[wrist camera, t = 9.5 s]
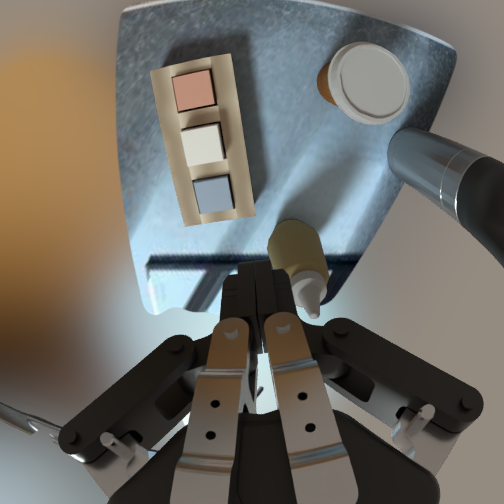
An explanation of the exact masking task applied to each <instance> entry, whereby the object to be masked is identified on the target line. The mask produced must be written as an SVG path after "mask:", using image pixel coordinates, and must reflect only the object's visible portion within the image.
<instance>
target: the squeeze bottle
mask: <svg viewBox="0 0 504 504" xmlns="http://www.w3.org/2000/svg"><path fill="white" fill-rule="evenodd" d="M267 251H268V254H269V257H270V260H271V263H272V266H273V269H274V270H275V269H282V268H283V269H284V270H285V271H286V272H287V273H288V274H289V278H290V282H291V287H292V291H293V296H294V301H295V305H297V306H299V307H304V309H305V310H306V312H307V313H308V315H309V317H310V318H311V319H316V318H318V317H319V315H320V302H321V301H322V300H323V299H324V297H325V296H326V293H327V287H326V285H327V283H328V280H329V273H328V268H327V264H326V260H325V256H324V252H323V249H322V245H321V241H320V238H319V235H318V234H317V233H316V231H315V230H314V228H312V227H310V226H308V225H306V224H304V223H302V222H301V221H299V220H293V219H289V220H285V221H283V222H281V223H280V224H278V225H277V226H276V228H275V229H274V231H273V233H272V235H271V236H270V238H269V241H268V247H267Z"/></svg>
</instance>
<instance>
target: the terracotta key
mask: <svg viewBox="0 0 504 504" xmlns="http://www.w3.org/2000/svg"><path fill="white" fill-rule="evenodd" d="M173 84H174V90H175V95H176V100H177V106H178V111H182V110H186V109H191V108H196V107H201V106H206V105H211V104H216V103H217V101H216V95H215V89H214V83H213V77H212V72H211V71H209V70H206V71H201V72H196V73H192V74H187V75H183V76H179V77H175V78H173Z"/></svg>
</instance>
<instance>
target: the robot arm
mask: <svg viewBox="0 0 504 504" xmlns="http://www.w3.org/2000/svg"><path fill="white" fill-rule="evenodd" d="M388 163H389V167H390V169H391V171H392V172H393V173H394V175H395V176H396V177H398V178H399V179H400V180H402V181H403V182H405V183H406V184H408V185H409V186H411V187H412V188H413V189H415V190H416V191H418V192H419V193H420V194H422V195H423V196H425V197H426V198H427V199H428V200H430V201H431V202H433V203H434V204H435V205H436V206H438V207H439V208H440V209H442V210H443V211H444V212H445V213H447V214H448V215H449V216H451V217H452V218H453V219H454V220H456V221H457V222H458V223H459V224H460V225H461V226H463V227H464V228H465V229H466V230H467V231H468V232H470V233H471V234H472V235H473V236H474V237H475V238H476V239H477V240H478V241H479V242H480V243H481V244H482V245H483V246H484V247H485V248H486V249H487V250H488V251H489V252H490V253H491V254H492V255H493V256H494V257H495V258H496V259H497V261H498V262H499V263H500V264H501V265H502V266H503V268H504V163H502V162H500V161H498V160H496V159H494V158H492V157H490V156H488V155H485V154H483V153H481V152H479V151H476V150H474V149H472V148H469V147H467V146H465V145H462V144H460V143H457V142H455V141H452V140H449V139H446V138H444V137H441V136H439V135H436V134H433V133H430V132H427V131H424V130H421V129H418V128H415V127H407V128H404V129H401V130H400V131H398V132H397V133H396V134H395V135H394V137H393V138H392V140H391V142H390V144H389V148H388ZM262 342H263V348H264V353H268V356H269V363H270V369H271V375H272V381H273V386H274V391H275V397H276V403H277V408H278V410H275V411H272V412H269V413H265V414H257V413H256V396H257V375H258V368H257V365H258V358H257V354H262V353H263V351H262V350H263V349H262ZM324 383H326V384H327V385H329V386H330V387H331V388H333V389H334V390H335V391H337V392H339V393H340V394H341V395H343V396H344V397H346V398H347V399H348V400H350V401H352V402H353V403H354V404H356V405H357V406H359V407H360V408H362V409H363V410H365V411H366V412H368V413H369V414H371V415H373V416H374V417H375V418H377V419H379V420H380V421H382V422H383V423H385V424H387V425H388V426H390V427H391V428H393V429H392V440H393V442H394V443H395V445H396V446H398V448H400V450H401V451H402V453H401V452H400V451H398V450H397V449H395V448H394V447H393V446H391V445H390V444H388V443H387V442H385V441H384V440H383V439H381V438H380V437H378V436H377V435H375V434H374V433H373V432H371V431H370V430H369V429H367V428H366V427H364V426H363V425H362V424H360V423H359V422H358V421H356V420H355V419H354V418H352V417H351V416H349V415H347V414H345V413H343V412H340V411H338V410H334V409H332V408H331V404H330V401H329V397H328V394H327V391H326V388H325V385H324ZM483 405H484V404H483V398H482V396H481V394H480V393H479V391H478V390H476V389H475V388H473V387H471V386H469V385H468V384H466V383H464V382H462V381H460V380H458V379H457V378H455V377H453V376H451V375H449V374H448V373H446V372H444V371H442V370H440V369H438V368H437V367H435V366H433V365H431V364H429V363H427V362H426V361H424V360H422V359H420V358H418V357H417V356H415V355H413V354H411V353H409V352H408V351H406V350H404V349H402V348H400V347H399V346H397V345H395V344H393V343H391V342H390V341H388V340H386V339H384V338H382V337H380V336H379V335H377V334H375V333H374V332H371V331H370V330H368V329H366V328H365V327H363V326H361V325H359V324H357V323H356V322H354V321H352V320H350V319H347V318H334V319H331V320H330V321H328V322H327V323H326V324H325V325H324V326H316V325H311V324H308V323H306V322H304V321H302V320H301V319H300V318H299V316H298V314H297V311H296V305H295V301H294V296H293V291H292V287H291V282H290V278H289V274H288V273H287V272H286V271H285V270H284V269H283V268H282V269H275V270H272V268H271V261H270V259H268V260H260V261H255V266H254V261H252V262H244V263H238V274H234V275H228V276H227V277H226V279H225V280H224V282H223V288H222V299H221V310H220V322H219V323H218V324H217V325H216V326H215V327H214V330H213V333H212V334H210V335H208V336H206V337H204V338H201V339H198V340H195V341H193V340H192V339H191V338H190V337H188V336H186V335H175V336H172V337H170V338H168V339H166V340H165V341H164V342H163V343H162V344H160V345H159V346H158V347H157V348H156V349H155V350H153V351H152V352H151V353H150V354H149V355H148V356H146V357H145V358H144V359H143V360H142V361H141V362H140V363H138V364H137V365H136V366H135V367H133V368H132V369H131V370H130V371H129V372H128V373H126V374H125V375H124V376H123V377H122V378H120V379H119V380H118V381H117V382H116V383H115V384H114V385H112V386H111V387H110V388H109V389H108V390H106V391H105V392H104V393H103V394H102V395H100V396H99V397H98V398H97V399H96V400H94V401H93V402H92V403H91V404H90V405H88V406H87V407H86V408H85V409H84V410H82V411H81V412H80V413H79V414H78V415H77V416H75V417H74V418H73V419H72V420H70V421H69V422H68V423H67V424H66V425H64V427H62V429H61V430H60V433H59V436H58V442H59V446H60V448H61V449H62V450H63V451H64V452H65V453H67V454H68V455H70V456H71V457H73V458H75V459H76V460H77V461H78V462H80V463H82V464H83V465H84V466H85V468H86V469H87V470H88V472H89V473H90V475H91V476H92V477H93V479H94V480H95V481H96V483H97V484H98V485H99V486H100V488H101V489H102V490H103V491H104V493H105V494H106V495H107V496H108V498H109V501H108V503H107V504H439V501H440V488H439V484H438V481H437V479H436V478H435V476H436V474H437V472H438V471H439V469H440V468H441V466H442V465H443V463H444V461H445V460H446V458H447V457H448V455H449V453H450V451H451V450H452V448H453V446H454V444H455V443H456V441H457V439H458V437H459V435H460V434H461V433H462V432H463V431H464V430H465V429H466V428H467V427H468V426H470V425H471V424H472V423H473V422H474V421H475V420H476V419H477V418H478V417H479V416H480V414H481V412H482V410H483ZM190 411H191V412H190ZM189 412H190V417H189V422H188V425H186V426H184V427H183V428H182V429H180V430H179V431H178V432H177V433H176V434H175V435H174V436H173V437H172V438H171V439H170V440H169V441H168V442H167V443H166V444H165V445H164V446H163V447H162V448H161V449H160V450H159V451H158V452H157V453H156V454H155V455H154V456H153V457H152V458H151V459H150V460H149V461H148V459H149V455H148V451H149V450H150V449H151V448H152V447H153V446H154V445H155V444H157V443H158V442H159V441H160V440H161V439H162V438H163V437H164V436H165V435H166V434H167V433H168V432H169V431H170V430H172V429H173V428H174V427H175V426H176V425H177V424H178V423H179V422H180V421H181V420H182V419H183V418H184V417H185V416H186V415H187V414H188V413H189Z"/></svg>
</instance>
